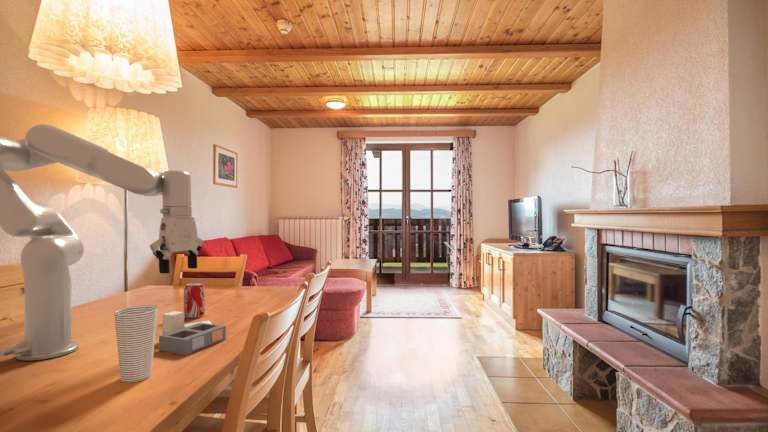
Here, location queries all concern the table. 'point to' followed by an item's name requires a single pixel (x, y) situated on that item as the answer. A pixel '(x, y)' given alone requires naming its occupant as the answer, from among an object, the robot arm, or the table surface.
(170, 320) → the cream rectangular block
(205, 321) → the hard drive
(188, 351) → the grey compartment tray
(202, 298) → the soda can
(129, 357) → the cup
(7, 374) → the table surface
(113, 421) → the table surface
